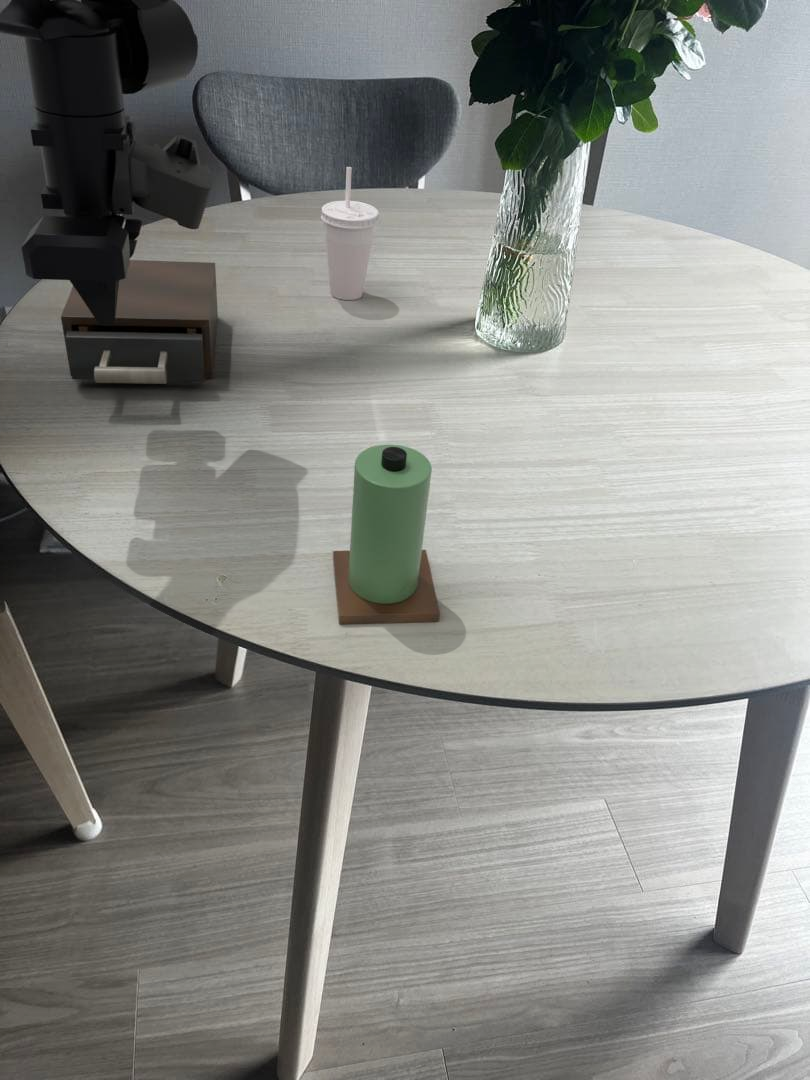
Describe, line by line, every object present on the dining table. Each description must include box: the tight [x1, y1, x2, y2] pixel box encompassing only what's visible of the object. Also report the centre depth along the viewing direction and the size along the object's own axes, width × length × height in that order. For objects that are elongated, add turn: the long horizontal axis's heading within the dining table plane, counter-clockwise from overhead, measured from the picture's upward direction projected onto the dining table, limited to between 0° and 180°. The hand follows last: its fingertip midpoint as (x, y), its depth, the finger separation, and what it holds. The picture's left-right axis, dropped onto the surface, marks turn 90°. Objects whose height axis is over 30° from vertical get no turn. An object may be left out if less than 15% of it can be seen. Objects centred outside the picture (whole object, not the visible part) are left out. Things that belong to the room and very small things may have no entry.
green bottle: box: [348, 444, 433, 604], centre depth 61 cm, size 5×5×11 cm
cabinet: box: [60, 259, 219, 380], centre depth 89 cm, size 14×13×6 cm
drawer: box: [65, 325, 206, 385], centre depth 85 cm, size 17×12×4 cm
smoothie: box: [320, 166, 380, 301], centre depth 100 cm, size 6×6×14 cm
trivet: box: [332, 549, 441, 625], centre depth 65 cm, size 7×7×1 cm
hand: (107, 323), depth 70 cm, fingers closed
